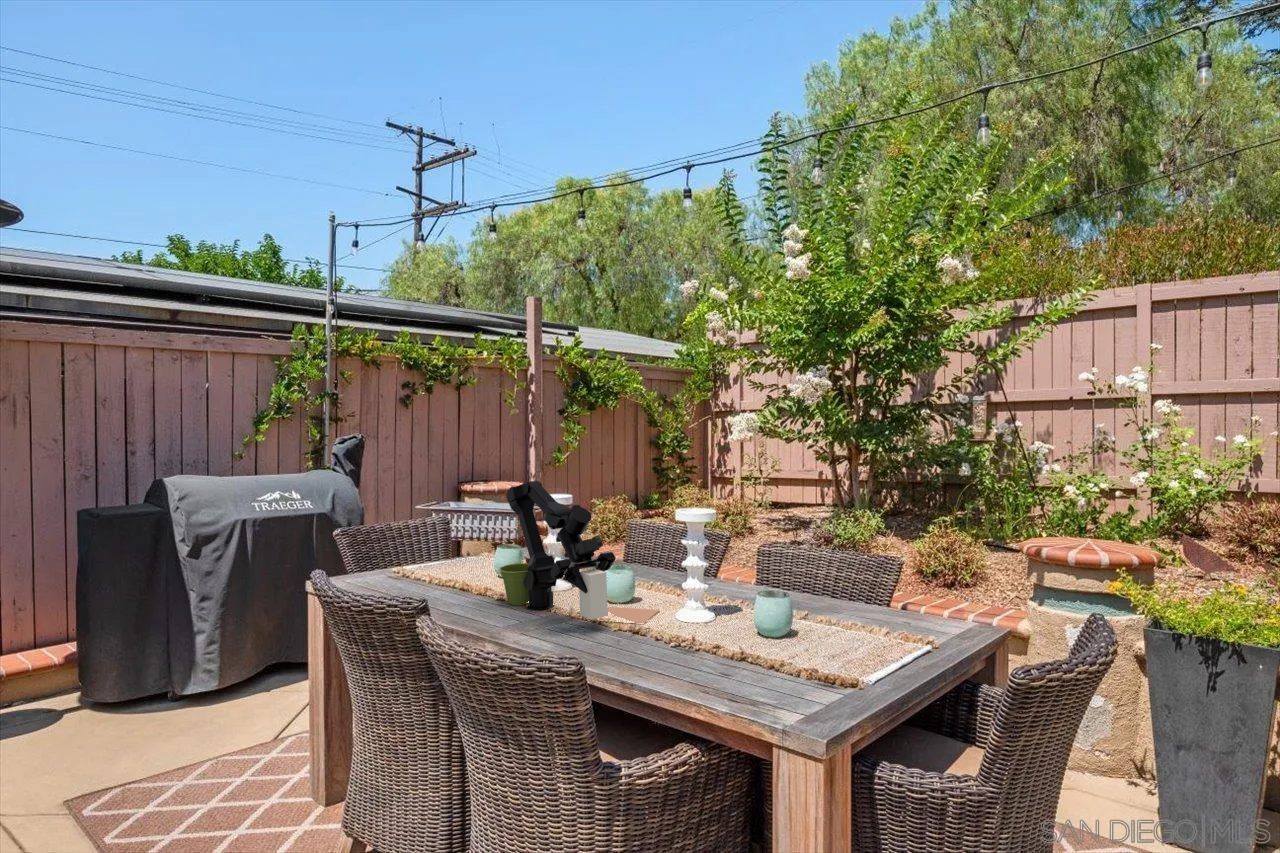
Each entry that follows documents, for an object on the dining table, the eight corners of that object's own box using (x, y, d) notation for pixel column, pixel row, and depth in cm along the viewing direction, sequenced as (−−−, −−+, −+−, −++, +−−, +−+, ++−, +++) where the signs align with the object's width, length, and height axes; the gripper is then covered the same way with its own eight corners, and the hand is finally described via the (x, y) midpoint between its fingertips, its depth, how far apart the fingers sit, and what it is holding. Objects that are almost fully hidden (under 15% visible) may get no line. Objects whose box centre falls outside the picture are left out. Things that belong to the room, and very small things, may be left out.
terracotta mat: (590, 620, 226) (590, 619, 226) (609, 608, 239) (609, 606, 239) (643, 624, 220) (643, 623, 220) (659, 611, 234) (659, 610, 234)
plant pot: (496, 600, 251) (495, 565, 251) (532, 596, 256) (531, 561, 256) (505, 609, 240) (504, 573, 240) (542, 604, 245) (541, 568, 245)
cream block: (580, 615, 218) (578, 572, 218) (596, 611, 222) (595, 568, 221) (590, 619, 214) (589, 575, 213) (607, 615, 217) (606, 572, 217)
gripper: (554, 531, 214) (577, 578, 206) (611, 523, 225) (635, 568, 217) (541, 556, 221) (562, 602, 213) (597, 547, 232) (619, 591, 224)
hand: (595, 590), depth 216 cm, fingers closed on cream block, 5 cm apart
